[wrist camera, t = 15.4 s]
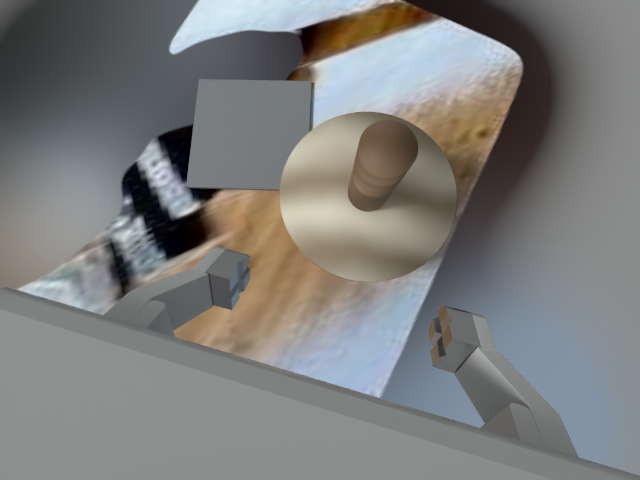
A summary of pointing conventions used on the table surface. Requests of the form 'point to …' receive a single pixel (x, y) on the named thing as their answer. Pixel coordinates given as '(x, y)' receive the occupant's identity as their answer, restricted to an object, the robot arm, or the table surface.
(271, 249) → the table surface
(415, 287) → the table surface
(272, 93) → the grey mat
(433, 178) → the birch lid
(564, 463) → the robot arm
